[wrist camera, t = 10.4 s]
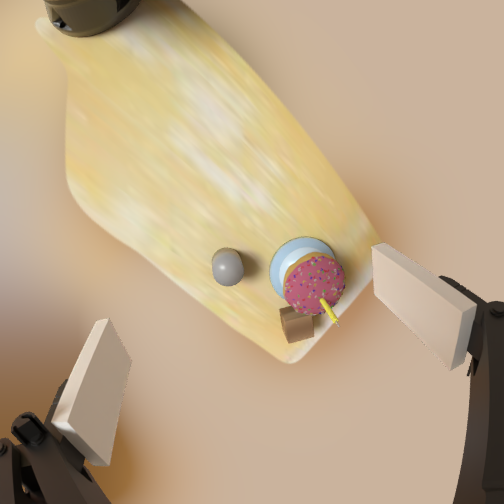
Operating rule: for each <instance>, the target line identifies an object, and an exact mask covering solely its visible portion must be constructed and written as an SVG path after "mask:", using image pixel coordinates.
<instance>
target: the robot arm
mask: <svg viewBox="0 0 504 504" xmlns="http://www.w3.org/2000/svg"><path fill="white" fill-rule="evenodd" d="M44 1H45V5H46V9H47V13H48V16H49V19H50V21H51V23H52V24H53V25H54V27H56V28H57V29H58V30H59V31H61V32H62V33H64V34H66V35H68V36H72V37H86V36H91V35H95V34H98V33H101V32H103V31H105V30H107V29H109V28H111V27H113V26H115V25H116V24H118V23H119V22H121V21H122V20H123V19H125V18H126V17H127V16H128V15H129V14H130V13H131V12H132V11H133V10H134V9H135V8H136V7H137V5H138V4H139V2H140V1H141V0H44ZM371 248H372V263H373V280H374V295H375V296H376V297H377V298H379V299H380V300H381V301H382V302H383V303H384V304H385V305H386V306H387V307H388V308H389V309H390V310H391V311H392V312H393V313H394V314H395V315H396V316H397V317H398V318H399V319H400V320H401V321H402V322H403V323H404V324H405V325H406V326H407V327H408V328H409V329H410V330H411V331H412V332H413V333H414V334H415V335H416V336H417V337H418V338H419V339H420V340H421V341H422V342H423V343H424V344H425V345H426V346H427V347H428V348H429V350H430V351H431V352H432V353H433V354H434V355H435V356H436V357H437V358H438V359H439V360H440V361H441V362H442V363H443V364H444V365H445V366H446V367H447V368H448V369H449V371H451V370H453V369H454V368H456V367H458V366H459V365H461V364H463V363H464V360H465V357H466V353H467V351H468V352H469V353H470V354H471V355H472V360H471V363H470V366H469V370H468V373H467V376H469V374H470V372H471V380H470V400H469V413H468V424H467V432H466V440H465V447H464V453H463V459H462V465H461V470H460V475H459V480H458V485H457V489H456V493H455V497H454V501H453V504H504V302H499V301H493V302H489V303H486V302H485V301H484V300H482V299H481V298H480V297H478V296H477V295H475V294H474V293H472V292H471V291H469V290H466V288H465V287H464V286H462V285H460V284H459V283H457V282H456V281H455V280H453V279H451V278H448V277H445V276H439V277H437V276H436V275H434V274H433V273H431V272H430V271H428V270H427V269H425V268H424V267H422V266H421V265H419V264H418V263H416V262H415V261H413V260H411V259H410V258H408V257H407V256H405V255H404V254H402V253H401V252H399V251H397V250H396V249H394V248H393V247H391V246H389V245H388V244H386V243H385V242H384V243H380V244H377V245H374V246H371ZM131 363H132V360H131V358H130V356H129V354H128V353H127V351H126V349H125V347H124V346H123V344H122V342H121V340H120V338H119V336H118V334H117V332H116V330H115V328H114V326H113V324H112V322H111V320H110V318H106V319H102V320H98V321H96V323H95V325H94V327H93V329H92V331H91V333H90V335H89V337H88V339H87V341H86V343H85V345H84V347H83V349H82V351H81V353H80V355H79V358H78V360H77V362H76V364H75V366H74V368H73V371H72V373H71V375H70V377H69V379H66V380H65V381H64V382H63V384H62V385H61V386H60V387H59V389H58V391H57V394H56V396H55V397H56V398H54V401H53V405H51V408H50V410H49V412H48V415H47V417H46V420H45V422H44V425H43V424H42V422H41V421H40V420H39V419H38V418H37V417H36V415H35V414H34V413H32V412H25V413H23V414H21V415H19V416H18V417H17V418H16V419H15V421H14V422H13V424H12V427H11V433H12V434H13V435H14V436H15V437H16V438H17V439H18V440H19V441H20V442H21V443H22V444H20V445H16V446H15V445H14V444H13V443H12V442H11V441H10V440H9V439H7V438H2V439H0V504H111V502H110V501H109V500H108V498H107V497H106V496H105V494H104V493H103V491H102V490H101V488H100V487H99V485H98V484H97V483H96V481H95V480H94V478H93V476H92V475H91V473H90V472H89V470H88V469H87V468H86V467H85V466H84V465H83V464H84V460H85V458H86V459H87V460H88V461H89V462H90V463H91V464H92V465H94V466H110V460H111V454H112V448H113V443H114V438H115V433H116V428H117V423H118V418H119V414H120V409H121V404H122V400H123V396H124V391H125V387H126V383H127V378H128V374H129V371H130V367H131ZM22 485H23V486H24V487H25V492H24V491H23V488H22Z"/></svg>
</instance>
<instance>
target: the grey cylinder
mask: <svg viewBox="0 0 504 504" xmlns="http://www.w3.org/2000/svg"><path fill="white" fill-rule="evenodd" d="M212 269H213V276H214V279H215V280H216V281H217V282H218V283H219V284H221V285H223V286H233V285H236V284H237V283H239V282H240V281H241V279H242V278H243V275H244V267H243V264H242V261H241V258H240V256H239V254H238V253H237V252H236V251H235V250H234V249H231V248H222V249H220V250H218V251H217V252H216V253H215V254H214V256H213V258H212Z"/></svg>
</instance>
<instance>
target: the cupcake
mask: <svg viewBox="0 0 504 504" xmlns="http://www.w3.org/2000/svg"><path fill="white" fill-rule="evenodd" d="M343 289H345V277H344V271H343V269H342V266H340V265H339V263H338V262H337V261H336V260H335V259H334V258H333V257H331V256H330V255H328V254H326V253H320V252H311V253H308V254H306V255H304V256H303V257H301V258H299V259H298V260H297V261H296V262H295V263H293V264H292V265H290V266H289V267H288V269H287V271H286V273H285V276H284V281H283V296H284V298H285V299H286V301H287V302H288V303H289V304H290V305H291V306H292V307H293V308H294V310H295V311H296V312H299V313H301V314H304V315H312V316H313V315H314V316H315V315H317V314H323V313H325V312H327V313H328V315H329V316H330V318H331V320H332V321H333V323H336V324H337V326H338V327H340V326H339V324H338V318H337V317H336V315H335V314H334V312H333V311H332V307H334V306H335V304H337V303H338V300H339V299H340V297H341V295H343Z"/></svg>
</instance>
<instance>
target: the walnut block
mask: <svg viewBox="0 0 504 504" xmlns="http://www.w3.org/2000/svg"><path fill="white" fill-rule="evenodd" d="M279 310H280V316H281V322H282V328H283V332H284V334H285V336H286V338H287V341H288V343H293V342H297V341H301V340H304V339H308V338H311V337H314V329H313V319H312V315H304V314H301V313H299V312H296V311H295V310H294V308H293V307H292V306H289V307H285V308H281V309H279Z"/></svg>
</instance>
